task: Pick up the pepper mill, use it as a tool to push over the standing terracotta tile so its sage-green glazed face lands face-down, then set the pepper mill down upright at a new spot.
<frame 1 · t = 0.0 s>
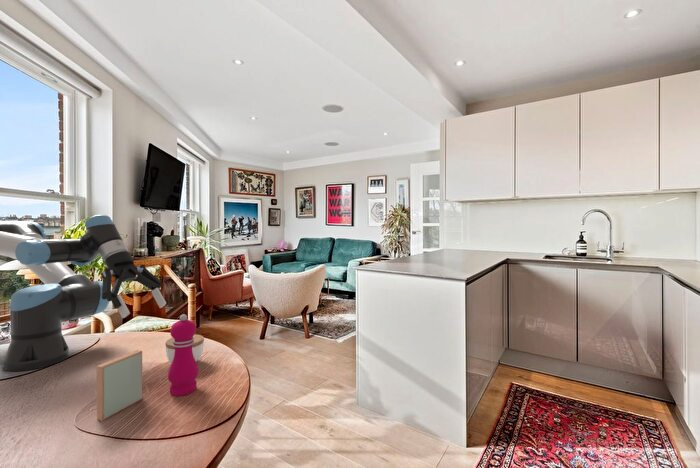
hand: (145, 310, 109), 15 cm above the table, tool tilted 35°, fingers open, 13 cm apart
lidded jar: (185, 365, 104), on the table
pepper mill: (183, 390, 88), on the table
tile: (121, 408, 79), on the table
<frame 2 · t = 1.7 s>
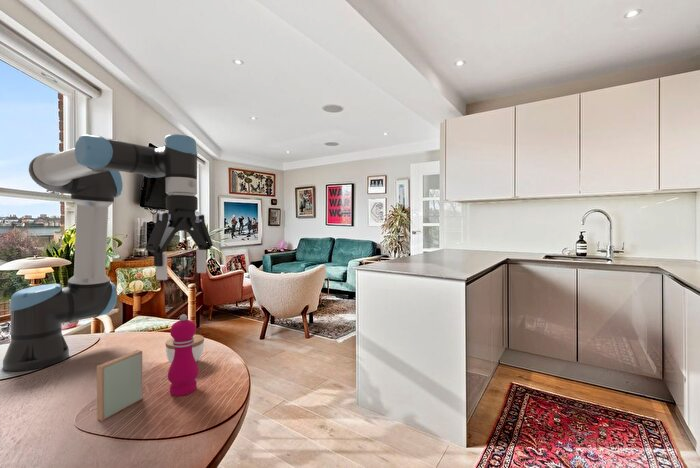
hand: (183, 276, 89), 30 cm above the table, tool pointing down, fingers open, 13 cm apart
nothing on the table moved.
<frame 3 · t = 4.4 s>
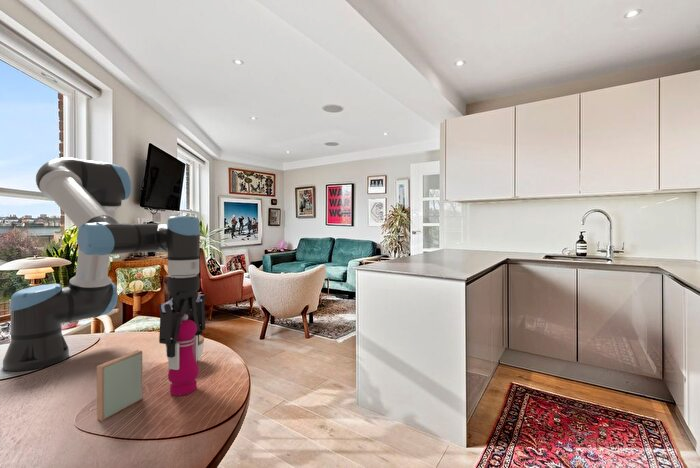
hand: (183, 363, 88), 7 cm above the table, tool pointing down, fingers closed on pepper mill, 6 cm apart
pepper mill: (183, 390, 88), on the table, touching gripper
everything else where it was.
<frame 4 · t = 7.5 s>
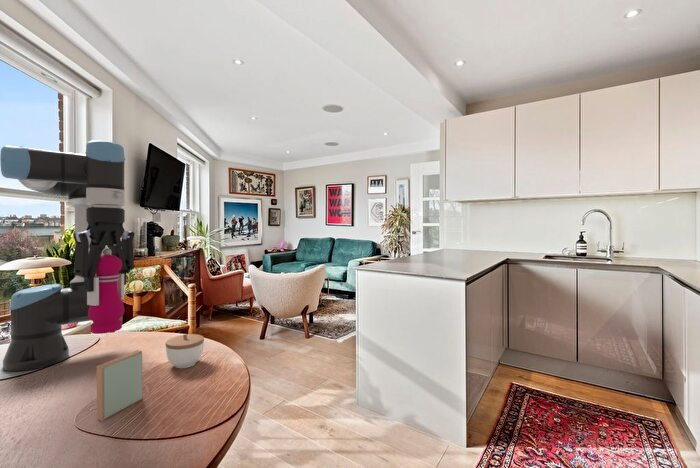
hand: (106, 301, 82), 24 cm above the table, tool pointing down, fingers closed on pepper mill, 6 cm apart
pepper mill: (106, 330, 82), point 17 cm above the table, touching gripper
everything else where it was.
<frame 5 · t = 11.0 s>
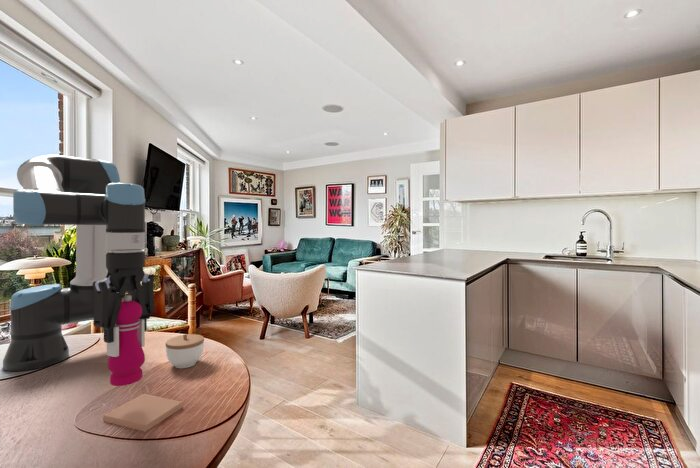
hand: (126, 350, 78), 14 cm above the table, tool pointing down, fingers closed on pepper mill, 6 cm apart
pepper mill: (126, 380, 78), point 7 cm above the table, touching gripper
tile: (124, 406, 79), point 1 cm above the table, tilted 90°
everything else where it was.
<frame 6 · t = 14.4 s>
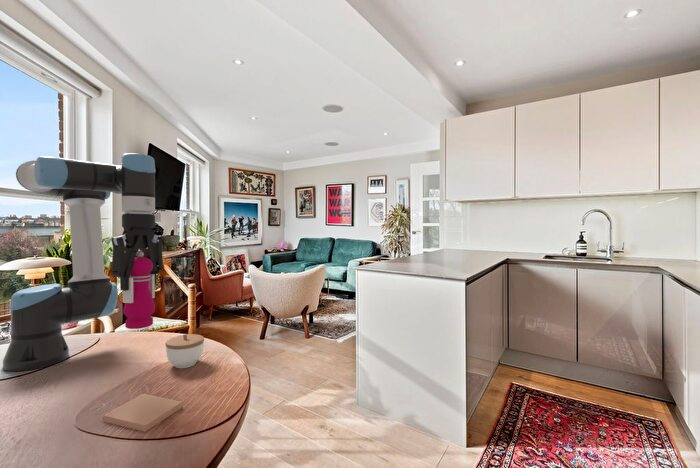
hand: (139, 299, 90), 23 cm above the table, tool pointing down, fingers closed on pepper mill, 6 cm apart
pepper mill: (139, 326, 90), point 16 cm above the table, touching gripper
everything else where it was.
when the fingers open (8 cm above the table, at t = 17.2 s): pepper mill drops 1 cm, on the table.
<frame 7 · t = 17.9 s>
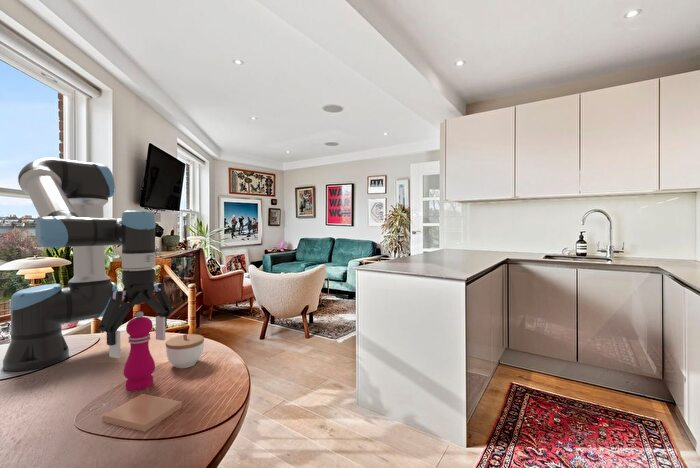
hand: (139, 347, 90), 10 cm above the table, tool pointing down, fingers open, 13 cm apart
pepper mill: (139, 386, 90), on the table
everything else where it was.
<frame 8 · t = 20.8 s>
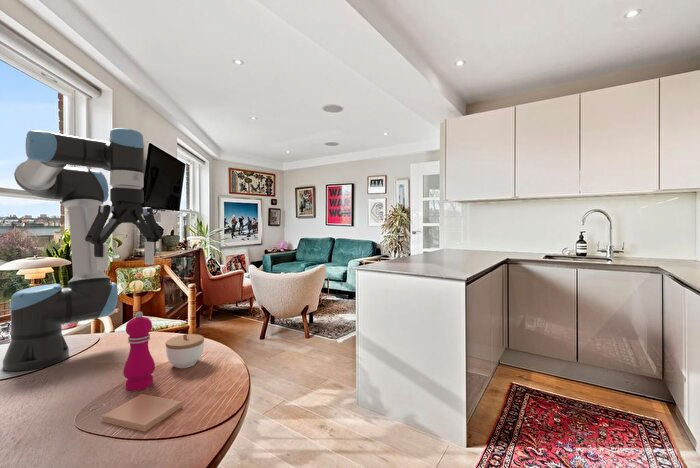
hand: (127, 267, 91), 32 cm above the table, tool pointing down, fingers open, 13 cm apart
nothing on the table moved.
at the end: tile tilted 90°; pepper mill inside the target area (0.0 cm from its centre), on the table; pepper mill tilted 0° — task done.
